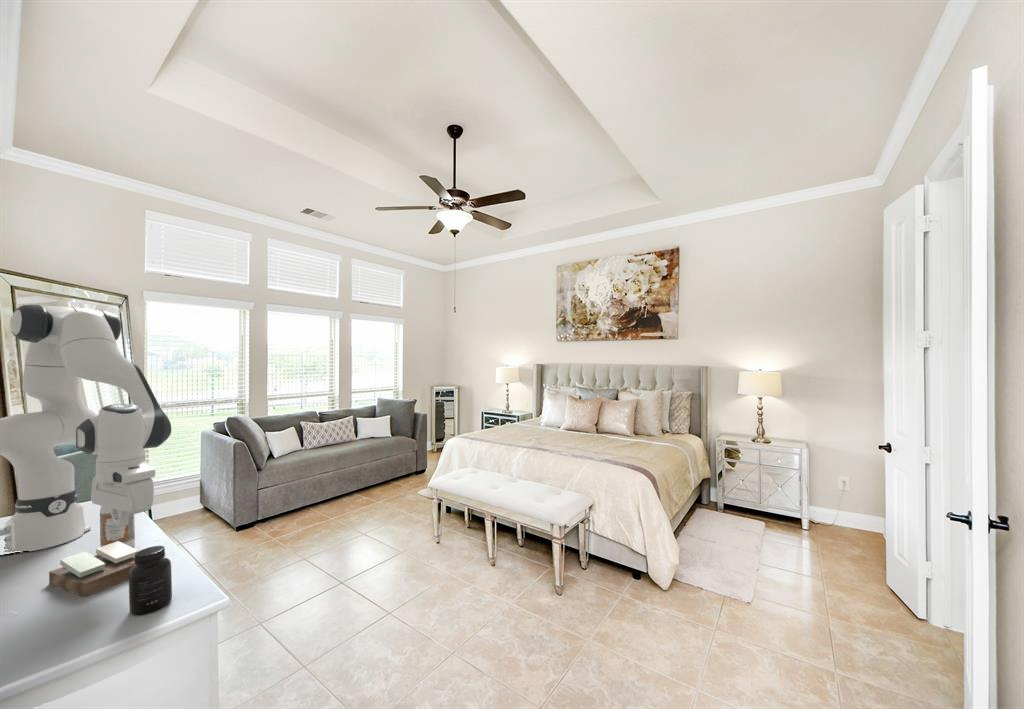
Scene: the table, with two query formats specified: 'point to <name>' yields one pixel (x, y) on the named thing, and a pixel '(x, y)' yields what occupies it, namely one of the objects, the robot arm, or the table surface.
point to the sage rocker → (82, 564)
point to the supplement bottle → (150, 581)
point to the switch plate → (92, 577)
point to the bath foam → (115, 529)
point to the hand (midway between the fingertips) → (120, 525)
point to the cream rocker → (116, 552)
